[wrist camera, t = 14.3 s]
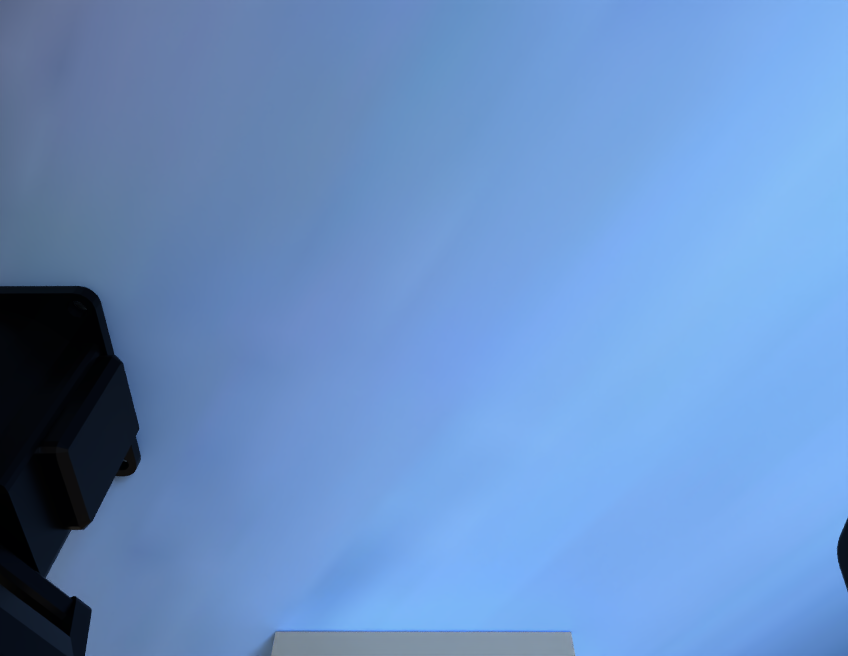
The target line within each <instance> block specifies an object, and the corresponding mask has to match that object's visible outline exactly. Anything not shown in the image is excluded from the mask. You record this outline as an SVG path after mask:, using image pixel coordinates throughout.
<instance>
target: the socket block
mask: <svg viewBox="0 0 848 656" xmlns="http://www.w3.org/2000/svg"><path fill="white" fill-rule="evenodd" d="M271 656H575V652H574V646H573V640H572V635H571V632H276V633H275V638H274V643H273V648H272V653H271Z"/></svg>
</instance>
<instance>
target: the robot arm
mask: <svg viewBox="0 0 848 656" xmlns="http://www.w3.org/2000/svg"><path fill="white" fill-rule="evenodd" d="M73 301H77V302H80V303H82V304H83V305H84V306H85V307H86V309H87V310H81V309H79V308H78V307H76V306H75V304H74V302H73ZM138 431H139V424H138V420H137V416H136V413H135V409H134V405H133V401H132V397H131V393H130V389H129V385H128V381H127V377H126V373H125V369H124V365H123V363H122V362H121V360H120V359H119V358H118V357H117V356H115V355H114V351H113V347H112V343H111V339H110V335H109V332H108V328H107V324H106V320H105V316H104V312H103V308H102V305H101V301H100V299H99V297H98V296H97V295H96V294H95V293H94V292H93V291H92V290H90V289H88V288H86V287H81V286H0V656H85V652H86V645H87V638H88V632H89V625H90V619H91V612H92V610H91V608H90V607H89V606H87V605H86V604H85V603H83V602H82V601H81V600H80V599H78V598H77V597H76V596H73V597H69V596H68V595H66V594H65V593H64V592H62V591H61V590H60V589H59V588H57V587H56V586H55V585H54V584H52V583H51V582H50V581H48V580H47V579H46V576H47V574H48V573H49V571H50V569H51V567H52V565H53V563H54V561H55V559H56V558H57V556H58V554H59V552H60V550H61V548H62V546H63V544H64V543H65V541H66V539H67V537H68V535H69V533H70V531H71V530H84V529H85V528H86V527H87V526H88V525H89V524H90V523H91V522H92V521H93V519H94V517H95V515H96V513H97V511H98V509H99V507H100V505H101V503H102V501H103V499H104V497H105V495H106V493H107V491H108V489H109V487H110V486H111V484H112V482H113V480H114V478H115V476H128V475H131V474H133V473H134V472H135V470H136V469H137V467H138V465H139V462H140V460H141V455H140V451H139V447H138V443H137V439H136V435H137V433H138ZM124 459H125V460H126V461H127V462H125V461H123V460H124ZM837 556H838V562H839V566H840V569H841V573H842V576H843V579H844V582H845V585H846V588H847V591H848V518H847V521H846V523H845V525H844V528H843V530H842V532H841V535H840V537H839V540H838V546H837Z"/></svg>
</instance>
